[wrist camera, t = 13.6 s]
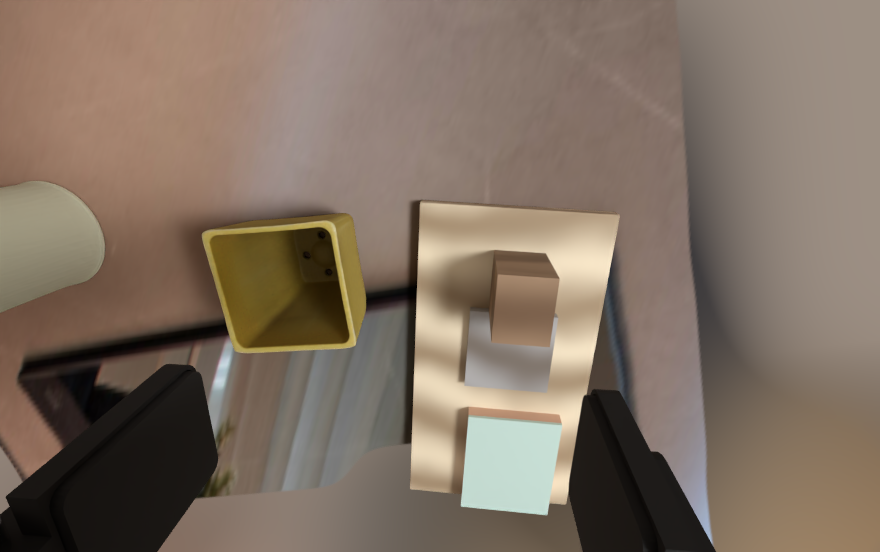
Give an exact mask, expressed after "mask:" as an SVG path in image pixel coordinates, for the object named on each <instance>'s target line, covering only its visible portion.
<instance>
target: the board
mask: <svg viewBox="0 0 880 552" xmlns="http://www.w3.org/2000/svg"><path fill="white" fill-rule="evenodd" d="M619 217H620V215H619V214H617V213H616V212H607V211H591V210H575V209H559V208H543V207H527V206H511V205H495V204H479V203H463V202H447V201H431V200H422V201H421V202H420V220H419V249H418V278H417V306H416V335H415V364H414V393H413V421H412V451H411V480H410V489H416V490H425V491H435V492H446V493H455V494H461V492H462V480H463V468H464V456H465V445H466V433H467V421H468V409H469V407H480V408H492V409H503V410H514V411H525V412H537V413H548V414H559V415H560V419H561V422H562V431H561V437H560V443H559V448H558V454H557V460H556V466H555V472H554V478H553V484H552V489H551V495H550V501H549V503H555V504H566V500H567V495H568V490H569V478H570V472H571V466H572V460H573V454H574V448H575V442H576V436H577V430H578V424H579V418H580V412H581V406H582V400H583V397H584V395H586V394H587V388H588V383H589V378H590V372H591V367H592V361H593V356H594V351H595V345H596V340H597V335H598V329H599V324H600V319H601V313H602V308H603V303H604V297H605V292H606V287H607V281H608V276H609V271H610V265H611V260H612V255H613V249H614V244H615V239H616V233H617V228H618V223H619ZM494 250H505V251H520V252H535V253H546V255H547V256H548V258H549V260H550V262H551V264H552V265H553V267H554V269H555V271H556V273H557V275H558V276H559V278H560V281H559V288H558V295H557V302H556V308H555V314H557V316H558V323H557V329H556V336H555V343H554V349H553V356H552V362H551V369H550V376H549V382H548V389H547V393H542V392H531V391H519V390H507V389H496V388H484V387H472V386H464V384H465V370H466V357H467V344H468V332H469V319H470V307H476V308H489V300H490V289H491V279H492V268H493V257H494Z"/></svg>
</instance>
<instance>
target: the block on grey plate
mask: <svg viewBox="0 0 880 552" xmlns="http://www.w3.org/2000/svg"><path fill="white" fill-rule="evenodd" d="M559 281H560V278H559V276H558V275H557V273H556V271H555V269H554V267H553V265H552V264H551V262H550V260H549V258H548V256H547V255H546V253H535V252H520V251H505V250H494V257H493V268H492V279H491V289H490V300H489V308H476V307H470V319H469V332H468V344H467V357H466V370H465V384H464V386H472V387H484V388H496V389H507V390H519V391H531V392H542V393H547V389H548V382H549V376H550V369H551V362H552V356H553V349H554V343H555V336H556V329H557V323H558V316H557V314H555V308H556V302H557V295H558V288H559Z"/></svg>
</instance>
